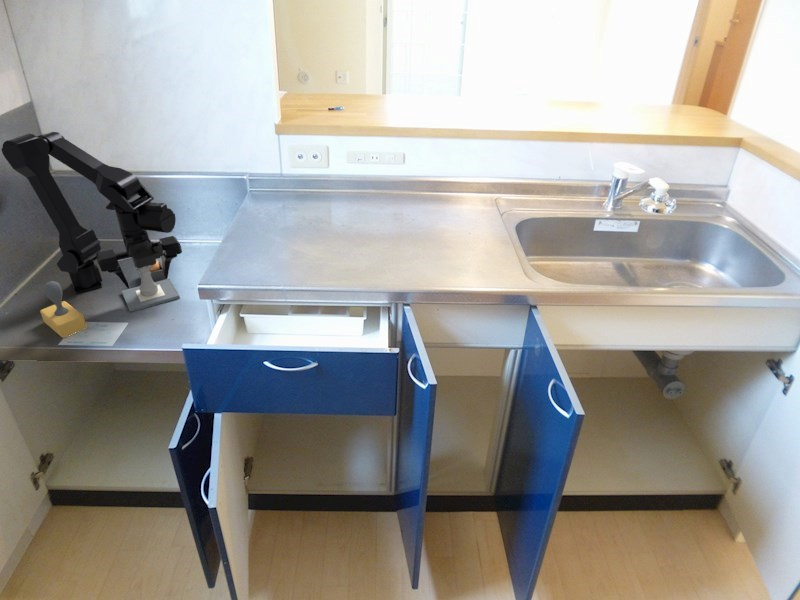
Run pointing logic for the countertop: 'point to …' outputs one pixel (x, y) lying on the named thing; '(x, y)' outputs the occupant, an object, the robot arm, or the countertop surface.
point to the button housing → (158, 274)
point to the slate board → (139, 301)
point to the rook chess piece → (147, 282)
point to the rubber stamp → (61, 312)
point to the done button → (155, 267)
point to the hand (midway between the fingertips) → (147, 282)
